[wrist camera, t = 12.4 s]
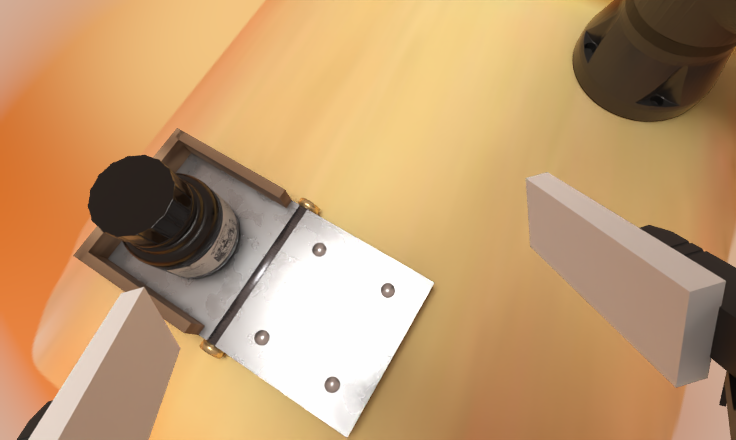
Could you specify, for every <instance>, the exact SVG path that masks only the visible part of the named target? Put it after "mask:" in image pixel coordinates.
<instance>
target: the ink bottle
mask: <svg viewBox="0 0 736 440" xmlns="http://www.w3.org/2000/svg"><path fill="white" fill-rule="evenodd" d="M88 208H89V211H90V214H91V220H92V221H93V222H94V223H95V224H96V225H97V226H98V227H99V228H100V229H101V231H102V232H104V233H106V234H109V235H111V236H113V237H116V238H118V239H120V240H122V242H123V244H124V246H125V247H126V249H127V250H128V251H129V253H130V254H131V255H133V256H134V257H135V258H136V259H138V260H139V261H141V262H143V263H145V264H147V265H150V266H153V267H155V268H158V269H160V270H163V271H166V272H168V273H171V274H174V275H176V276H179V277H184V278H200V277H204V276H207V275H210V274H212V273H213V272H215V271H217V270H218V269H219V268H221V267H222V266H223V265H224V264H225V263H226V262H227V261H228V259H229V258H230V257H231V255H232V253H233V252H234V250H235V247H236V245H237V242H238V238H239V223H238V219H237V217H236V215H235V213H234V211H233V210H232V209H231V207H230V206H229V205H228V203H227V202H226V201H225V200H223V199H222V198H221V197H220V196H219V195H218V194H217V193H216V192H215V191H213V190H212V189H211V188H210V187H209V186H207V185H206V184H205V183H204V182H202V181H201V180H199V179H197V178H195V177H193V176H191V175H187V174H182V173H175V172H173V171H172V170H171V169H170V168H169V167H167V166H166V165H165V164H164V163H163V162H162V161H160V160H159V159H155V158H152V157H148V156H147V155H141V156H127V157H125V158H124V159H121V160H119V161H117V162H113V163H112V164H110V166H109V167H108V168H107V169H105V170H104V171H103V172H102V173H101V174H99V176H98V178H97V180H96V182H95V183H94V185H93V187H92V188H91V190H90V197H89V204H88Z"/></svg>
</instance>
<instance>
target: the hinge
mask: <svg viewBox="0 0 736 440" xmlns="http://www.w3.org/2000/svg"><path fill="white" fill-rule="evenodd" d="M176 173H182V174H187V175H191V176H193V177H195V178H197V179H199V180H201V181H202V182H204V183H205V184H206V185H207V186H209V187H210V188H211V189H212V190H213V191H215V192H216V193H217V194H218V195H219V196H220V197H221V198H222V199H223V200H225V201H226V202H227V203H228V205H229V206H230V207H231V209H232V210H233V211H234V213H235V215H236V217H237V219H238V223H239V238H238V242H237V245H236V247H235V250H234V252H233V253H232V255H231V257H230V258H229V259H228V261H227V262H226V263H225V264H224V265H223V266H222V267H221V268H219V269H218V270H217V271H215V272H213V273H212V274H210V275H207V276H204V277H200V278H184V277H179V276H176V275H174V274H171V273H168V272H166V271H163V270H160V269H158V268H155V267H153V266H150V265H147V264H145V263H143V262H141V261H139V260H138V259H136V258H135V257H134V256H133V255H131V254H130V253H129V251H128V250H127V249H126V247H125V246H124V244H123V242H122V241H121V243H120V244H119V245H118V246H117V248H116V249H115V250H114V251H113V253H112V254H111V255H110V256H109V258H108V259H109V260H110V261H111V262H113V263H114V264H116V265H117V266H119V267H120V268H122V269H123V270H125V271H126V272H128V273H129V274H130V275H132V276H133V277H135V278H136V279H138V280H139V281H141V282H142V283H144V284H145V285H146V286H148V287H149V288H151V289H152V290H154V291H155V292H157V293H158V294H160V295H161V296H163V297H164V298H165V299H167V300H168V301H170V302H171V303H173V304H174V305H176V306H177V307H179V308H180V309H181V310H183V311H184V312H186V313H187V314H189V315H190V316H192V317H193V318H195V319H196V320H198V321H199V322H200V323H202V324H203V325H205V326H204V328H203V329H202V331H201V332H200V334H199V335H200V336H201V337H203V338H204V340H203V341H202V343H201V344H200V348H201V349H203V350H204V351H205V352H207V353H208V354H210V355H212V356H214V357H216V358H221V357H222V356H223V354H224V353H226V354H227V355H229V356H230V357H231V358H233V359H234V360H236V361H237V362H239V363H240V364H242V365H243V366H244V367H246V368H247V369H249V370H250V371H252V372H253V373H254V374H256V375H257V376H259V377H260V378H262V379H263V380H265V381H266V382H267V383H269V384H270V385H272V386H273V387H275V388H276V389H278V390H279V391H280V392H282V393H283V394H285V395H286V396H288V397H289V398H290V399H292V400H293V401H295V402H296V403H298V404H299V405H301V406H302V407H303V408H305V409H306V410H308V411H309V412H311V413H312V414H314V415H315V416H316V417H318V418H319V419H321V420H322V421H324V422H325V423H326V424H328V425H329V426H331V427H332V428H334V429H335V430H337V431H338V432H339V433H341V434H342V435H344V436H345V437H348V436H349V434H350V432H351V430H352V429H353V427H354V425H355V423H356V421H357V420H358V418H359V416H360V414H361V413H362V411H363V409H364V407H365V405H366V404H367V402H368V400H369V398H370V396H371V395H372V393H373V391H374V389H375V388H376V386H377V384H378V382H379V380H380V379H381V377H382V375H383V373H384V372H385V370H386V368H387V366H388V364H389V363H390V361H391V359H392V357H393V356H394V354H395V352H396V350H397V348H398V347H399V345H400V343H401V341H402V340H403V338H404V336H405V334H406V332H407V331H408V329H409V327H410V325H411V324H412V322H413V320H414V318H415V316H416V315H417V313H418V311H419V309H420V308H421V306H422V304H423V302H424V300H425V299H426V297H427V295H428V293H429V292H430V290H431V288H432V286H433V284H434V282H433V281H431V280H429V279H427V278H426V277H424V276H422V275H420V274H419V273H417V272H415V271H413V270H412V269H410V268H408V267H406V266H405V265H403V264H401V263H400V262H398V261H396V260H394V259H393V258H391V257H389V256H387V255H386V254H384V253H382V252H380V251H379V250H377V249H375V248H374V247H372V246H370V245H368V244H367V243H365V242H363V241H361V240H360V239H358V238H356V237H354V236H353V235H351V234H349V233H347V232H346V231H344V230H342V229H341V228H339V227H337V226H335V225H334V224H332V223H330V222H328V221H327V220H325V219H323V218H321V217H320V216H318V215H317V214H318V212H319V211H320V209H319V208H318V207H317V206H316V205H315V204H313V203H312V202H310V201H309V200H307V199H305V198H301V199H300V200H299V202H298V203H295V202H294V201H291V202H290V204H289V205H288V207H287V208H285V207H284V206H282V205H280V204H278V203H277V202H275V201H273V200H272V199H270V198H268V197H266V196H265V195H263V194H261V193H260V192H258V191H256V190H254V189H253V188H251V187H249V186H248V185H246V184H244V183H242V182H241V181H239V180H237V179H236V178H234V177H232V176H230V175H229V174H227V173H225V172H224V171H222V170H220V169H218V168H217V167H215V166H213V165H212V164H210V163H208V162H206V161H205V160H203V159H201V158H199V157H198V156H196V155H194V154H193V153H191V154H190V155H189V156H188V158H187V159H186V160H185V162H184V163H183V164H182V165H181V167H180V168H179V169H178V170H177V172H176Z"/></svg>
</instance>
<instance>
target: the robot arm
mask: <svg viewBox="0 0 736 440" xmlns="http://www.w3.org/2000/svg"><path fill="white" fill-rule="evenodd" d="M735 46H736V0H614V1H613V2H611V3H610V4H609V5H608V6H607V7H605V8H604V9H603V10H602V11H601V12H599V13H598V14H597V15H596V16H595V17H594V18H593V19H592V20H591V21H590V22H589V23H588V25H587V26H586V28H585V29H584V31H583V33H582V34H581V36H580V38H579V39H578V41H577V43H576V46H575V49H574V53H573V66H574V71H575V74H576V77H577V79H578V81H579V83H580V85H581V87H582V88H583V89H584V91H585V92H586V93H587V94H588V95H589V96H590V98H592V99H593V100H594V101H595V102H596V103H597V104H599V105H600V106H602V107H603V108H605V109H606V110H608V111H610V112H612V113H614V114H617V115H619V116H622V117H625V118H629V119H633V120H639V121H660V120H666V119H670V118H673V117H676V116H679V115H681V114H683V113H685V112H686V111H688V110H689V109H690V108H692V107H693V106H694V105H695V104H696V103H698V102H699V101H700V100H701V99H702V98H704V97H705V96H706V95H707V94H708V92H709V91H710V90H711V89H712V87H713V86H714V84H715V83H716V81H717V79H718V77H719V75H720V73H721V72H722V70H723V68H724V66H725V64H726V62H727V60H728V58H729V57H730V55H731V53H732V51H733V49H734V47H735ZM526 189H527V204H528V219H529V234H530V247H531V248H532V249H533V250H534V251H535V252H536V253H538V254H539V255H540V256H541V257H542V258H543V259H544V260H545V261H546V262H547V263H548V264H549V265H550V266H551V267H552V268H553V269H554V270H555V271H556V272H557V273H558V274H559V275H560V276H561V277H562V278H563V279H564V280H565V281H566V282H567V283H568V284H569V285H571V286H572V287H573V288H574V289H575V290H576V291H577V292H578V293H579V294H580V295H581V296H582V297H583V298H584V299H585V300H586V301H587V302H588V303H589V304H590V305H591V306H592V307H593V308H594V309H595V310H596V311H597V312H598V313H599V314H600V315H601V316H602V317H604V318H605V319H606V320H607V321H608V322H609V323H610V324H611V325H612V326H613V327H614V328H615V329H616V330H617V331H618V332H619V333H620V334H621V335H622V336H623V337H624V338H625V339H626V340H627V341H628V342H629V343H630V344H631V345H632V346H633V347H634V348H635V349H637V350H638V351H639V352H640V353H641V354H642V355H643V356H644V357H645V358H646V359H647V360H648V361H649V362H650V363H651V364H652V365H653V366H654V367H655V368H656V369H657V370H658V371H659V372H660V373H661V374H662V375H663V376H664V377H665V378H666V379H667V380H668V381H670V382H671V383H672V384H673V385H674V386H675V387H676V388H677V387H680V386H683V385H686V384H690V383H693V382H696V381H699V380H702V379H706V378H708V373H709V367H710V362H711V358H712V359H713V360H714V361H715V362H717V363H718V364H719V365H720V366H722V367H723V368H724V369H725V370H727V372H726V377H725V382H724V387H723V390H722V395H721V400H720V404H719V405H722V406H726V404H727V409H728V417H729V426H730V435H731V440H736V268H735V267H733V266H732V265H730V264H728V263H726V262H725V261H723V260H721V259H719V258H717V257H716V256H714V255H712V254H710V253H709V252H707V251H705V252H704V251H703V249H702V248H700V247H698V246H696V245H694V244H693V243H689V241H687V240H686V239H684V238H682V237H680V236H679V235H677V234H675V233H673V232H671V231H668V230H665V229H661V228H658V227H655V226H651V225H648V226H644V227H641V228H638V227H637V226H635V225H633V224H632V223H630V222H628V221H627V220H625V219H623V218H622V217H620V216H618V215H617V214H615V213H614V212H612V211H610V210H609V209H607V208H605V207H604V206H602V205H600V204H599V203H597V202H596V201H594V200H592V199H591V198H589V197H587V196H586V195H584V194H582V193H581V192H579V191H577V190H576V189H574V188H573V187H571V186H569V185H568V184H566V183H564V182H563V181H561V180H559V179H558V178H556V177H554V176H553V175H551V174H550V173H548V172H546V173H542V174H539V175H535V176H532V177H528V178H526ZM179 351H180V347H179V345H178V343H177V342H176V340H175V338H174V337H173V335H172V333H171V331H170V330H169V328H168V326H167V325H166V323H165V321H164V320H163V318H162V316H161V315H160V313H159V311H158V309H157V308H156V306H155V304H154V303H153V301H152V299H151V298H150V296H149V294H148V293H147V291H146V289H145V287H142V288H138V289H135V290H131V291H128V292H124V293H121V294H120V296H119V297H118V299H117V301H116V302H115V304H114V305H113V307H112V308H111V310H110V312H109V313H108V315H107V316H106V318H105V320H104V321H103V323H102V324H101V326H100V327H99V329H98V331H97V332H96V334H95V335H94V337H93V338H92V340H91V342H90V343H89V345H88V346H87V348H86V349H85V351H84V353H83V354H82V356H81V357H80V359H79V360H78V362H77V364H76V365H75V367H74V368H73V370H72V371H71V373H70V375H69V376H68V378H67V379H66V381H65V382H64V384H63V386H62V387H61V389H60V390H59V392H58V393H57V395H56V397H55V398H54V400H53V401H49V402H47V403H46V404H45V405H44V406H43V407H42V408H41V409H40V410H39V411H38V412H37V413H36V414H35V415H34V416H33V417H32V419H30V421H29V422H28V423H27V425H26V426H25V428H24V430H23V431H22V432H21V434H20V435H19V437H18V438H17V440H149V437H150V434H151V431H152V428H153V425H154V422H155V419H156V417H157V414H158V411H159V408H160V405H161V402H162V399H163V397H164V394H165V391H166V388H167V385H168V382H169V379H170V377H171V374H172V371H173V368H174V365H175V362H176V359H177V357H178V354H179Z"/></svg>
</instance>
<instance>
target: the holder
mask: <svg viewBox="0 0 736 440" xmlns="http://www.w3.org/2000/svg"><path fill="white" fill-rule="evenodd" d="M191 153H193V154H194V155H196V156H198V157H199V158H201V159H203V160H205V161H206V162H208V163H210V164H212V165H213V166H215V167H217V168H218V169H220V170H222V171H224V172H225V173H227V174H229V175H230V176H232V177H234V178H236V179H237V180H239V181H241V182H242V183H244V184H246V185H248V186H249V187H251V188H253V189H254V190H256V191H258V192H260V193H261V194H263V195H265V196H266V197H268V198H270V199H272V200H273V201H275V202H277V203H278V204H280V205H282V206H284V207H285V208H287V207H288V205H289V204H290V202H291V201H292V200H291V198H290V197H289V195H288V194H287V192H286V190H285V189H283V188H281V187H279V186H278V185H276V184H274V183H272V182H271V181H269V180H267V179H265V178H264V177H262V176H260V175H258V174H257V173H255V172H253V171H251V170H250V169H248V168H246V167H244V166H243V165H241V164H239V163H237V162H236V161H234V160H232V159H230V158H229V157H227V156H225V155H223V154H222V153H220V152H218V151H216V150H215V149H213V148H211V147H209V146H208V145H206V144H204V143H202V142H201V141H199V140H197V139H195V138H194V137H192V136H190V135H188V134H187V133H185V132H183V131H181V130H180V129H178V128H177V129H176V130H175V131H174V133H173V134H172V135H171V136H170V137H169V139H168V140H167V141H166V142H165V144H164V145H163V146H162V147H161V149H160V150H159V151H158V152H157V153H156V155H155V156H154V157H153V158H155V159H159V160H160V161H162V162H163V163H164V164H165V165H166V166H167V167H169V168H170V169H171V170H172V171H173V172H175V173H176V172H177V170H178V169H179V168H180V167H181V165H182V164H183V163H184V162H185V160H186V159H187V158H188V156H189V155H190V154H191ZM121 241H122V240H120V239H118V238H116V237H113V236H111V235H109V234H106V233H104V232H102V231H101V229H100V228H99V227H98V226H97V227H96V228H95V230H94V231H93V232H92V233H91V234H90V236H89V237H88V238H87V239H86V241H85V242H84V243H83V244H82V245H81V247H80V248H79V249H78V250H77V252H76V253H75V254H74V255H73V256H75V257H76V258H78V259H79V260H80V261H82V262H83V263H85V264H86V265H88V266H89V267H90V268H92V269H93V270H95V271H96V272H98V273H99V274H100V275H102V276H103V277H105V278H106V279H108V280H109V281H110V282H112V283H113V284H115V285H116V286H118V287H119V288H121V289H122V290H123V291H125V292H128V291H131V290H135V289H138V288H142V287H145V289H146V291H147V293H148V294H149V296H150V298H151V299H152V301H153V303H154V304H155V306H156V308H157V309H158V311H159V313H160V315H161V316H162V318H163V319H165V320H166V321H168V322H169V323H171V324H172V325H173V326H175V327H176V328H178V329H179V330H181V331H182V332H183V333H188V334H196V335H199V334H200V332H201V331H202V329H203V328H204V326H205V325H203V324H202V323H200V322H199V321H198V320H196V319H195V318H193V317H192V316H190V315H189V314H187V313H186V312H184V311H183V310H181V309H180V308H179V307H177V306H176V305H174V304H173V303H171V302H170V301H168V300H167V299H165V298H164V297H163V296H161V295H160V294H158V293H157V292H155V291H154V290H152V289H151V288H149V287H148V286H146V285H145V284H144V283H142V282H141V281H139V280H138V279H136V278H135V277H133V276H132V275H130V274H129V273H128V272H126V271H125V270H123V269H122V268H120V267H119V266H117V265H116V264H114V263H113V262H111V261H110V260H109V259H108V258H109V256H110V255H111V254H112V253H113V251H114V250H115V249H116V248H117V246H118V245H119V244H120V243H121Z"/></svg>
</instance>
